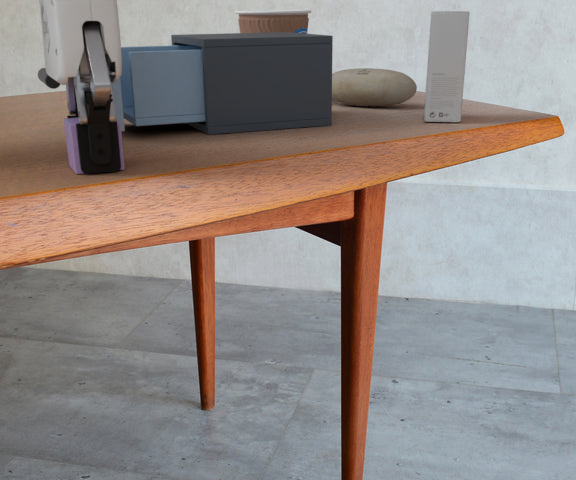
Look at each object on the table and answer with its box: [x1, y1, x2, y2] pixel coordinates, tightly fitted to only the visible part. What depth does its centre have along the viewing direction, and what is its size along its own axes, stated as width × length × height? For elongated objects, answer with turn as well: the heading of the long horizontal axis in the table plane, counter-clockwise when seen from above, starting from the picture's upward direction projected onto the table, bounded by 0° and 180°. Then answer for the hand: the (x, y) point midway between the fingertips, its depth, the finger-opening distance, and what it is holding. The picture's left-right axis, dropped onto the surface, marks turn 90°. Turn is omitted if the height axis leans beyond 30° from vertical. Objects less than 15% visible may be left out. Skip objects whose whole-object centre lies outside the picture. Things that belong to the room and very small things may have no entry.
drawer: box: [37, 44, 205, 132], centre depth 79 cm, size 19×11×8 cm, turn 114°
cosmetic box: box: [423, 10, 470, 123], centre depth 85 cm, size 6×4×12 cm
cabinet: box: [170, 32, 334, 136], centre depth 84 cm, size 15×13×10 cm
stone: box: [332, 67, 418, 107], centre depth 97 cm, size 6×6×12 cm
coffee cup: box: [235, 9, 312, 34], centre depth 102 cm, size 10×10×12 cm
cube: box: [63, 117, 126, 175], centre depth 62 cm, size 4×4×4 cm
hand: (96, 163), depth 63 cm, fingers closed on cube, 4 cm apart
